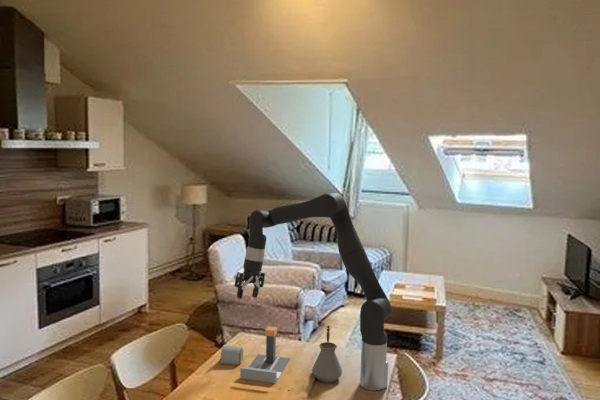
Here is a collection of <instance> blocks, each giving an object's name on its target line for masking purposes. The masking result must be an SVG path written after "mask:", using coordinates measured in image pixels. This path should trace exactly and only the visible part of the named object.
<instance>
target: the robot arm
mask: <svg viewBox="0 0 600 400" xmlns="http://www.w3.org/2000/svg"><path fill="white" fill-rule="evenodd" d="M309 218H327V219H328V218H329V219H330V221H331V222H332V224H333V227H334V229H335V232H336V238H337V248H338V254H339V256H340V258H341V261H342V263H343V265H344V268H345V269H346V271H347V273H349V275H350V276H351V277H352V279H354V280H355V281H356V283H357V284H358V285H359V286H360V288H361V290H362V292H363V294H364V296H365V299H366V301H364V302H363V303H362V305H361V307H360V312H359V330H360V331H359V332H360V335H361V349H360V350H361V352H360V353H361V355H360V374H359V385H360V387H362V388H363V389H365V390H367V391H371V392H373V391H374V392H377V391H376V390H378V391H382V390H384V389H386V388H388V380H389V379H388V378H389V362H388V361H387V355H388V354H387V352H388V350H387V348H388V334H387V332H385V321H386V320H387V319H388V318H389V317H390V315H391V313H392V305H391V303H390V301H389V298H388V296H387V295H386V293H385V292H384V290H383V288H382V285H381V284H380V282H379V280H378V278H377V276H376V273H375V271H374V269H373V267H372V264H371V262H370V260H369V256H368V254H367V252H366V250H365V247H364V245H363V244H362V241H361V239H360V237H359V235H358V232H357V230H356V227H355V226H354V224H353V221H352V219H351V216H350V212H349V209H348V207H347V203H346V200H345V199H344V197H343V196H342V195H341V194H340V193H338V192H326V193H323V194H321V195H319V196H316V197H315V198H312V199H309V200H306V201H303V202H295V203H290V204H289V203H288V204H286V205H279V206H275V207H274V208H272V209H269V210H262V209H255V210H254V211H252V212H251V213H250V215H249V218H248V231H249V232H248V233H249V238H248V244H247V248H246V251H245V256H244V261H243V266H242V267H243V272H241V271H237V273H236V278H235V281H234V284H233V285H234V287H236V288H237V292H236V297H237V298H238V299H243V294H244V289H245V287H246V286H248V285H249V284H252V285H253V288H252V289H253V290H252V295H251V297H253V298H255V299H256V298H257V297H258V296H259V292H260V291H259V290H260V289H261V288H263V287H264V285H265V284H264V283H265V277H266V273H265V272H262V269H263V265H264V258H265V252H266V251H265V249H266V245H267V236H266V234H264V230H263V229H264V228H265V229H266V228H271V227H272V228H273V227H275V226H277V225H278V226H279V225H284V224H289V223H293V222H298V221H300V220H304V219H309ZM381 389H382V390H381Z"/></svg>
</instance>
